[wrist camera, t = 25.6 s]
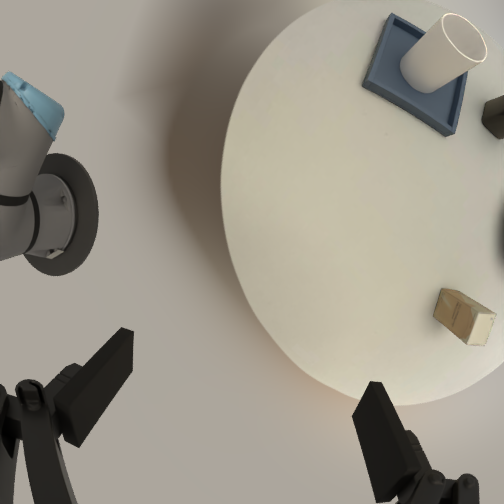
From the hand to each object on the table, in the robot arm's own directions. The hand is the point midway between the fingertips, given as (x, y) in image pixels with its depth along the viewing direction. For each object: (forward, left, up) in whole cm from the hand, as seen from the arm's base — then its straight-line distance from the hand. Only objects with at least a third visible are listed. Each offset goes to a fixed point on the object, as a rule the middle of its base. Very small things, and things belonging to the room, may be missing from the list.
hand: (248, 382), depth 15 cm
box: (+31, +6, -28) cm, 42 cm away
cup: (+11, +38, -27) cm, 48 cm away
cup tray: (+11, +38, -28) cm, 49 cm away
